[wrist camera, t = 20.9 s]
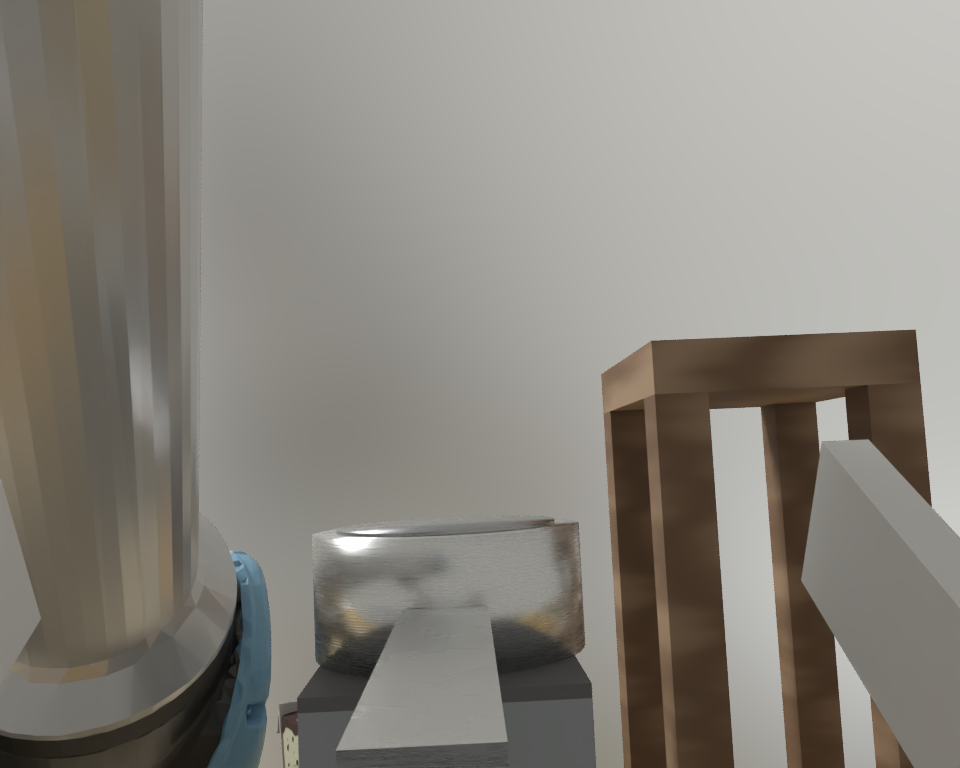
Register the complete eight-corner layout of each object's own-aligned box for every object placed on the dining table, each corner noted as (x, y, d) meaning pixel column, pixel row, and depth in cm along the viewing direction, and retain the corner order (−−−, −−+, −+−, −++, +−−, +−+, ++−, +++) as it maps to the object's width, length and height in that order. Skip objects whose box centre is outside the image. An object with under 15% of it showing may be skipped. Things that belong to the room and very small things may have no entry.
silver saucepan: (111, 907, 13) (109, 610, 13) (336, 629, 35) (333, 521, 35) (739, 873, 13) (719, 581, 13) (569, 618, 35) (563, 510, 35)
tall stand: (706, 1208, 31) (651, 340, 34) (637, 1001, 43) (601, 374, 45) (994, 1189, 31) (915, 329, 34) (845, 988, 43) (796, 365, 46)
